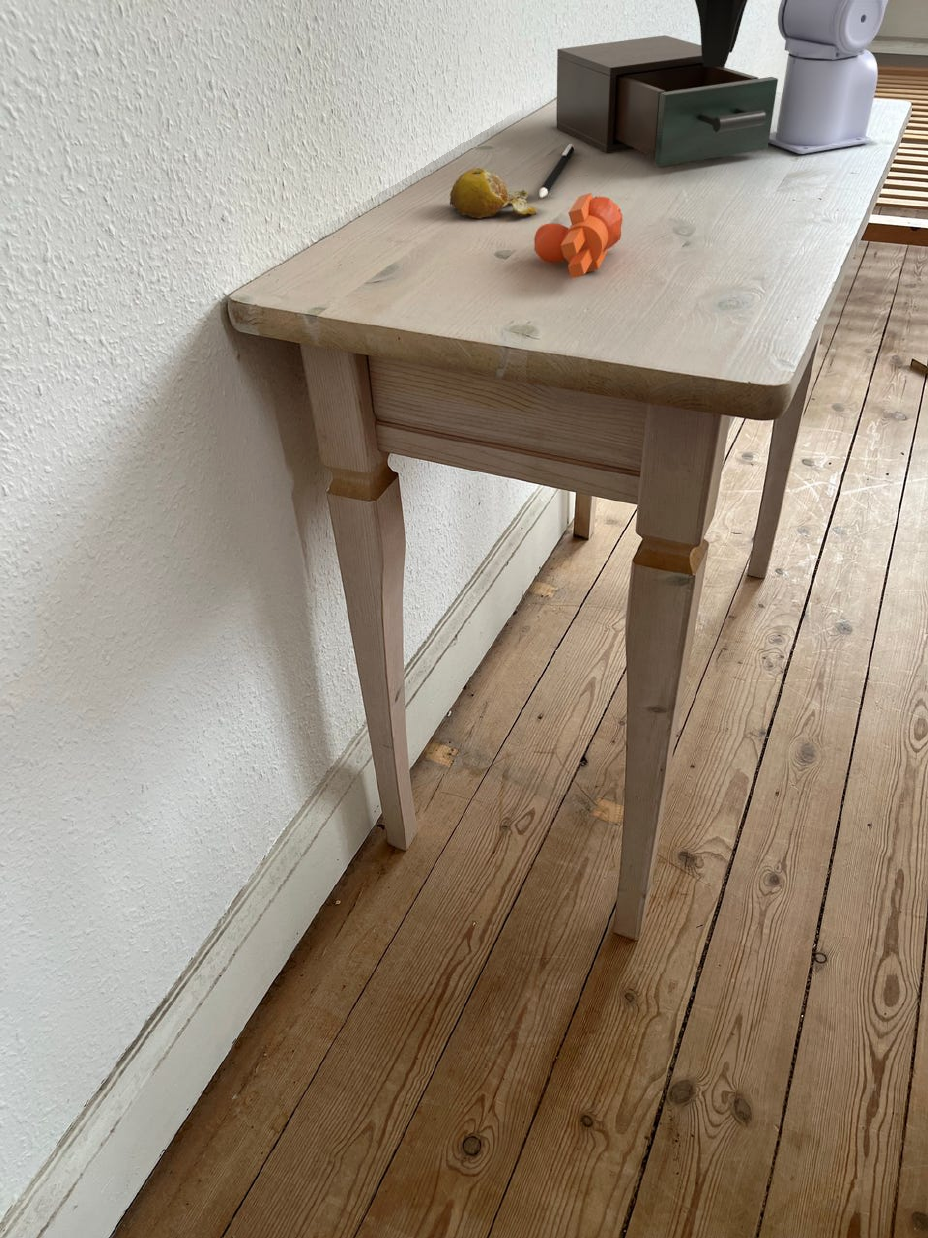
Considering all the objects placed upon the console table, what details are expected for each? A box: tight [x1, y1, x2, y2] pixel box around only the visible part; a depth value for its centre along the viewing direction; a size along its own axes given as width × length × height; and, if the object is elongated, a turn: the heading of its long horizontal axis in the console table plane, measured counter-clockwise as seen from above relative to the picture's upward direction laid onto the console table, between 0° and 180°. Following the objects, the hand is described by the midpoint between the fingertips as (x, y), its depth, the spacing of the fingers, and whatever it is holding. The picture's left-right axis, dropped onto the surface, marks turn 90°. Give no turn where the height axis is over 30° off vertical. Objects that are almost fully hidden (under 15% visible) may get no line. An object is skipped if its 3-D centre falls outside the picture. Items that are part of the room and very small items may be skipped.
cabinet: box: [555, 35, 726, 154], centre depth 111 cm, size 14×15×9 cm
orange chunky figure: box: [533, 192, 624, 279], centre depth 80 cm, size 5×8×12 cm
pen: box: [538, 143, 576, 199], centre depth 101 cm, size 1×19×1 cm, turn 165°
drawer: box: [613, 63, 779, 168], centre depth 101 cm, size 17×13×7 cm
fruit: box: [449, 167, 538, 220], centre depth 92 cm, size 8×8×4 cm
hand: (718, 58), depth 96 cm, fingers open, 7 cm apart
